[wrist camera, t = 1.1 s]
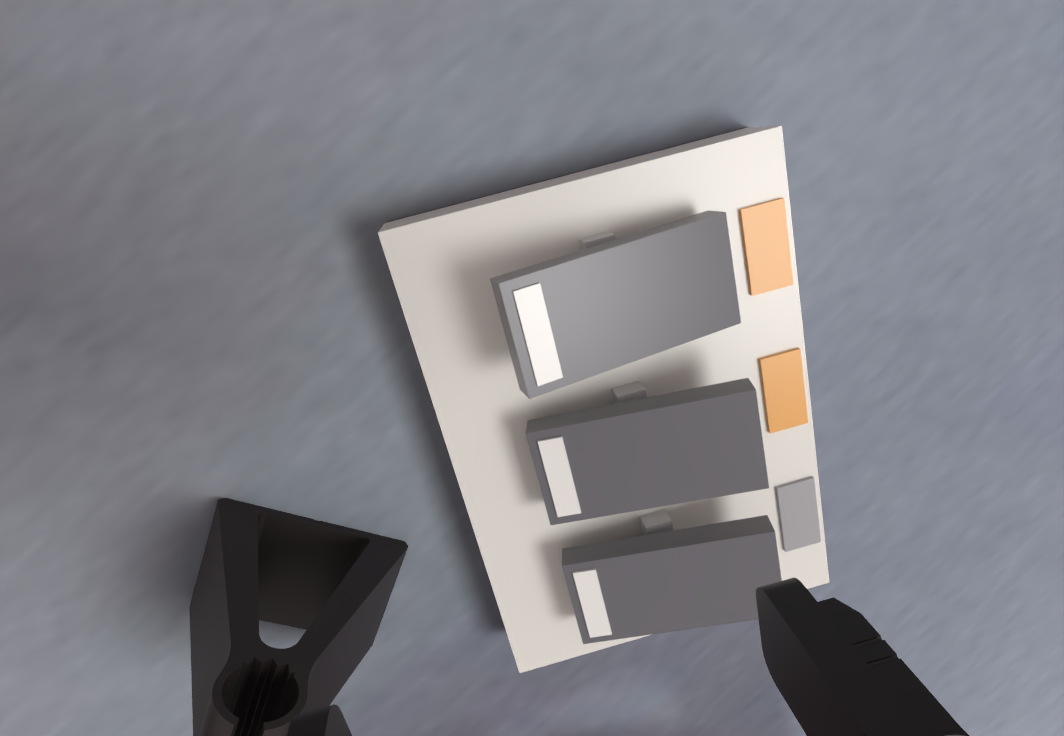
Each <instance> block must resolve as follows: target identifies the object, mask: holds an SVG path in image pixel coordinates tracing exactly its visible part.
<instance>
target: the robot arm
mask: <svg viewBox="0 0 1064 736" xmlns="http://www.w3.org/2000/svg"><path fill="white" fill-rule="evenodd" d="M756 602H757V610H758V618H759V626H760V634H761V642H762V649H763V654H764V658H765V661H766V664H767V667H768V669H769V672H770V674H771V676H772V678H773V680H774V682H775V684H776V686H777V687H778V689H779V691H780V692H781V694H782V696H783V697H784V699H785V701H786V702H787V704H788V705H789V707H790V709H791V710H792V712H793V714H794V715H795V717H796V719H797V720H798V722H799V723H800V725H801V727H802V728H803V730H804V732H805V733H806V735H807V736H969V735H968V734H967V733H966V732H965V731H964V730H963V729H962V728H961V727H960V726H959V725H958V723H957V722H956V721H955V720H954V719H953V718H952V717H951V715H950V714H949V713H948V712H947V711H946V710H945V709H944V708H943V706H942V705H941V704H940V703H939V702H938V701H937V700H936V698H935V697H934V696H933V695H932V694H931V693H930V692H929V690H928V689H927V688H926V687H925V686H924V685H923V684H922V682H921V681H920V680H919V679H918V678H917V677H916V676H915V674H914V673H913V672H912V671H911V670H910V669H909V668H908V667H907V665H906V664H905V663H904V662H903V661H902V660H901V659H898V657H897V654H896V653H895V652H894V651H893V649H892V648H891V647H890V646H889V645H888V644H887V643H886V641H885V640H882V639H881V636H880V635H879V633H878V632H877V631H876V630H875V629H874V628H873V627H872V626H871V624H870V623H869V622H868V621H867V620H866V619H865V618H864V616H863V615H862V614H861V613H859V612H857V611H856V610H854V609H852V608H851V607H849V606H847V605H845V604H844V603H842V602H840V601H839V600H837V599H835V598H831V599H827V600H823V601H820V602H817V601H816V600H815V598H814V597H813V596H812V595H811V593H810V592H809V591H808V590H807V589H806V587H805V586H804V585H803V584H802V582H801V581H800V580H798V579H797V578H790V579H787V580H783V581H780V582H776V583H773V584H769V585H765V586H762V587H758V588H757V589H756ZM287 736H352V735H351V732H350V730H349V728H348V726H347V723H346V721H345V719H344V716H343V714H342V712H341V710H340V708H339V707H338V706H337V705H331V706H328V707H324V708H321V709H317V710H313V711H310V712H306V713H303V714H299V715H295V716H294V717H293V718H292V720H291V722H290V725H289V729H288V733H287Z"/></svg>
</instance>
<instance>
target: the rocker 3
mask: <svg viewBox="0 0 1064 736" xmlns="http://www.w3.org/2000/svg"><path fill="white" fill-rule="evenodd" d="M562 569H563V573H564V576H565V580H566V583H567V587H568V591H569V594H570V598H571V602H572V605H573V609H574V613H575V616H576V620H577V624H578V627H579V631H580V635H581V638H582V642H583V644H588V643H595V642H602V641H609V640H616V639H623V638H630V637H637V636H644V635H651V634H658V633H665V632H672V631H679V630H686V629H693V628H700V627H707V626H714V625H721V624H728V623H735V622H742V621H749V620H756V619H759V618H758V610H757V602H756V589H757V588H758V587H762V586H765V585H769V584H773V583H776V582H780V581H782V579H781V572H780V564H779V557H778V550H777V542H776V535H775V530H774V528H773V526H772V524H771V522H770V520H769V518H768V515H763V516H757V517H751V518H745V519H739V520H733V521H727V522H721V523H715V524H709V525H703V526H697V527H691V528H685V529H679V530H672V531H666V532H660V533H654V534H648V535H642V536H636V537H630V538H624V539H618V540H612V541H606V542H600V543H594V544H588V545H581V546H575V547H569V548H563V549H562Z"/></svg>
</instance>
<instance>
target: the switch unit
mask: <svg viewBox="0 0 1064 736" xmlns="http://www.w3.org/2000/svg"><path fill="white" fill-rule="evenodd" d="M708 210H709V211H720V212H726V217H727V224H728V231H729V238H730V246H731V253H732V260H733V267H734V275H735V282H736V289H737V296H738V304H739V311H740V318H741V323H740V324H737V325H734V326H732V327H729V328H726V329H723V330H720V331H718V332H715V333H712V334H709V335H707V336H704V337H701V338H698V339H695V340H693V341H690V342H687V343H684V344H682V345H679V346H676V347H673V348H670V349H668V350H665V351H662V352H659V353H656V354H654V355H651V356H648V357H645V358H643V359H640V360H637V361H634V362H631V363H629V364H626V365H623V366H620V367H618V368H615V369H612V370H609V371H606V372H604V373H601V374H598V375H595V376H593V377H590V378H587V379H584V380H581V381H579V382H576V383H573V384H570V385H567V386H565V387H562V388H559V389H556V390H554V391H551V392H548V393H545V394H542V395H540V396H537V397H534V398H531V399H529V398H528V397H527V396H526V395H525V394H524V393H523V392H522V391H521V390H520V389H519V385H518V381H517V377H516V374H515V370H514V366H513V363H512V359H511V355H510V351H509V348H508V344H507V340H506V337H505V333H504V329H503V326H502V322H501V318H500V314H499V311H498V307H497V303H496V300H495V296H494V292H493V288H492V285H491V281H490V278H493V277H496V276H500V275H503V274H506V273H509V272H512V271H516V270H519V269H522V268H525V267H528V266H532V265H535V264H538V263H541V262H544V261H548V260H551V259H554V258H557V257H560V256H564V255H567V254H570V253H573V252H576V251H580V250H583V249H586V248H589V247H592V246H596V245H599V244H602V243H605V242H608V241H612V240H615V239H618V238H621V237H625V236H628V235H631V234H634V233H637V232H641V231H644V230H647V229H650V228H653V227H657V226H660V225H663V224H666V223H669V222H673V221H676V220H679V219H682V218H685V217H689V216H692V215H695V214H698V213H701V212H705V211H708ZM378 235H379V238H380V241H381V244H382V247H383V251H384V254H385V257H386V260H387V263H388V266H389V269H390V272H391V275H392V279H393V282H394V285H395V288H396V291H397V294H398V297H399V300H400V303H401V306H402V310H403V313H404V316H405V319H406V322H407V325H408V328H409V331H410V334H411V337H412V341H413V344H414V347H415V350H416V353H417V356H418V359H419V362H420V365H421V368H422V372H423V375H424V378H425V381H426V384H427V387H428V390H429V393H430V396H431V400H432V403H433V406H434V409H435V412H436V415H437V418H438V421H439V424H440V427H441V431H442V434H443V437H444V440H445V443H446V446H447V449H448V452H449V455H450V458H451V462H452V465H453V468H454V471H455V474H456V477H457V480H458V483H459V486H460V489H461V493H462V496H463V499H464V502H465V505H466V508H467V511H468V514H469V517H470V521H471V524H472V527H473V530H474V533H475V536H476V539H477V542H478V545H479V548H480V552H481V555H482V558H483V561H484V564H485V567H486V570H487V573H488V576H489V579H490V583H491V586H492V589H493V592H494V595H495V598H496V601H497V604H498V607H499V611H500V614H501V617H502V620H503V623H504V626H505V629H506V632H507V635H508V638H509V642H510V645H511V648H512V651H513V654H514V657H515V660H516V663H517V666H518V669H519V673H522V672H526V671H529V670H533V669H536V668H539V667H543V666H546V665H550V664H553V663H556V662H560V661H563V660H567V659H570V658H573V657H577V656H580V655H584V654H587V653H590V652H594V651H597V650H601V649H604V648H607V647H611V646H614V645H618V644H621V643H624V642H628V641H631V640H635V639H638V638H641V637H645V636H648V635H644V636H637V637H630V638H623V639H616V640H609V641H602V642H595V643H588V644H583V642H582V638H581V635H580V631H579V627H578V624H577V620H576V616H575V613H574V609H573V605H572V602H571V598H570V594H569V591H568V587H567V583H566V580H565V576H564V573H563V569H562V549H563V548H569V547H575V546H581V545H588V544H594V543H600V542H606V541H612V540H618V539H624V538H630V537H636V536H642V535H648V534H654V533H660V532H666V531H672V530H679V529H685V528H691V527H697V526H703V525H709V524H715V523H721V522H727V521H733V520H739V519H745V518H751V517H757V516H763V515H768V518H769V520H770V522H771V524H772V526H773V528H774V530H775V535H776V542H777V550H778V557H779V564H780V572H781V579H782V581H783V580H787V579H790V578H797V579H798V580H800V581H801V582H802V584H803V585H804V586H805V587H806V589H808V588H812V587H815V586H819V585H822V584H825V583H829V575H828V565H827V555H826V546H825V536H824V527H823V517H822V507H821V498H820V488H819V479H818V469H817V459H816V450H815V440H814V431H813V421H812V412H811V402H810V392H809V383H808V373H807V364H806V354H805V344H804V335H803V325H802V316H801V306H800V296H799V287H798V277H797V268H796V258H795V249H794V239H793V229H792V220H791V210H790V201H789V191H788V181H787V172H786V162H785V153H784V143H783V133H782V126H767V127H747V128H744V129H740V130H736V131H732V132H729V133H725V134H721V135H717V136H713V137H710V138H706V139H702V140H698V141H694V142H691V143H687V144H683V145H679V146H675V147H672V148H668V149H664V150H660V151H657V152H653V153H649V154H645V155H641V156H638V157H634V158H630V159H626V160H622V161H619V162H615V163H611V164H607V165H603V166H600V167H596V168H592V169H588V170H585V171H581V172H577V173H573V174H569V175H566V176H562V177H558V178H554V179H550V180H547V181H543V182H539V183H535V184H531V185H528V186H524V187H520V188H516V189H513V190H509V191H505V192H501V193H497V194H494V195H490V196H486V197H482V198H478V199H475V200H471V201H467V202H463V203H459V204H456V205H452V206H448V207H444V208H440V209H437V210H433V211H429V212H425V213H422V214H418V215H414V216H410V217H406V218H403V219H399V220H395V221H391V222H387V223H384V224H383V226H382V227H381V229H380V230H379V232H378ZM744 378H749V380H750V381H751V383H752V384H753V386H754V387H755V389H756V394H757V401H758V409H759V416H760V423H761V431H762V438H763V446H764V453H765V460H766V468H767V475H768V483H769V488H768V489H762V490H756V491H750V492H744V493H738V494H733V495H727V496H721V497H715V498H709V499H703V500H697V501H691V502H686V503H680V504H674V505H668V506H662V507H656V508H650V509H644V510H639V511H633V512H627V513H621V514H615V515H609V516H603V517H598V518H592V519H586V520H580V521H574V522H568V523H562V524H556V525H550V521H549V518H548V514H547V510H546V507H545V503H544V499H543V496H542V492H541V488H540V485H539V481H538V477H537V474H536V470H535V466H534V463H533V459H532V456H531V452H530V448H529V445H528V441H527V437H526V427H527V421H528V420H533V419H538V418H543V417H548V416H553V415H558V414H564V413H569V412H574V411H579V410H584V409H589V408H594V407H600V406H605V405H610V404H615V403H620V402H625V401H631V400H636V399H641V398H646V397H651V396H656V395H661V394H667V393H672V392H677V391H682V390H687V389H692V388H698V387H703V386H708V385H713V384H718V383H723V382H728V381H734V380H739V379H744ZM651 635H652V634H651Z"/></svg>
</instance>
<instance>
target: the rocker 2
mask: <svg viewBox="0 0 1064 736" xmlns="http://www.w3.org/2000/svg"><path fill="white" fill-rule="evenodd" d="M526 437H527V441H528V445H529V448H530V452H531V456H532V459H533V463H534V466H535V470H536V474H537V477H538V481H539V485H540V488H541V492H542V496H543V499H544V503H545V507H546V510H547V514H548V518H549V521H550V525H556V524H562V523H568V522H574V521H580V520H586V519H592V518H598V517H603V516H609V515H615V514H621V513H627V512H633V511H639V510H644V509H650V508H656V507H662V506H668V505H674V504H680V503H686V502H691V501H697V500H703V499H709V498H715V497H721V496H727V495H733V494H738V493H744V492H750V491H756V490H762V489H768V488H769V483H768V475H767V468H766V460H765V453H764V446H763V438H762V431H761V423H760V416H759V409H758V401H757V394H756V389H755V387H754V386H753V384H752V383H751V381H750V380H749V378H744V379H739V380H734V381H728V382H723V383H718V384H713V385H708V386H703V387H698V388H692V389H687V390H682V391H677V392H672V393H667V394H661V395H656V396H651V397H646V398H641V399H636V400H631V401H625V402H620V403H615V404H610V405H605V406H600V407H594V408H589V409H584V410H579V411H574V412H569V413H564V414H558V415H553V416H548V417H543V418H538V419H533V420H528V421H527V427H526Z"/></svg>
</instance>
